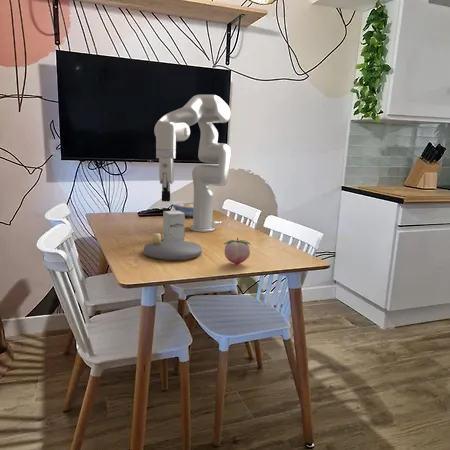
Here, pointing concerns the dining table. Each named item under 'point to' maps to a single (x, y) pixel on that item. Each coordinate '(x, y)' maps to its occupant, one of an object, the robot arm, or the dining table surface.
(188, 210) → the ramen bowl
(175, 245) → the disc
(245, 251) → the decorative fruit
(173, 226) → the supplement box
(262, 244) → the dining table surface
